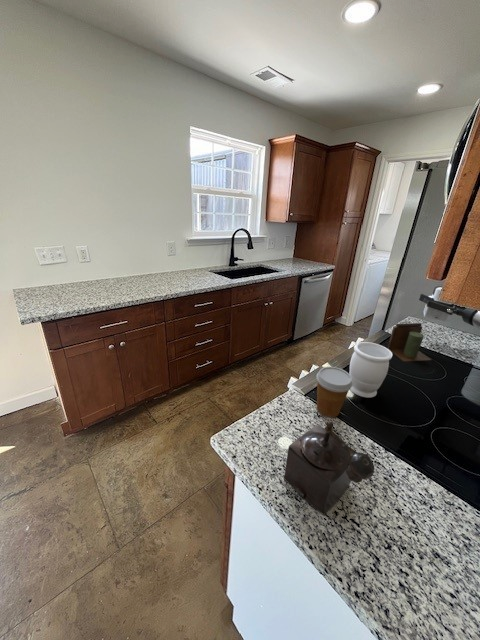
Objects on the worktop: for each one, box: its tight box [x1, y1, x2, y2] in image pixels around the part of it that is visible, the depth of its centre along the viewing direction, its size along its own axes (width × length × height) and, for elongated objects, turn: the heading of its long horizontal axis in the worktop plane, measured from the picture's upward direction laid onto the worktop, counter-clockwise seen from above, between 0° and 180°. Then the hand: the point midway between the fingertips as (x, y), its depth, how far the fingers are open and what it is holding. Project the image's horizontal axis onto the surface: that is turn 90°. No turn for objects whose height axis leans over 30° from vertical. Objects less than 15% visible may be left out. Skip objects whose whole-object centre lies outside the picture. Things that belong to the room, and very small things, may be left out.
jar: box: [349, 341, 393, 399], centre depth 83 cm, size 11×10×15 cm
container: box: [423, 285, 451, 322], centre depth 111 cm, size 8×8×13 cm
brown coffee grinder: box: [283, 420, 375, 515], centre depth 51 cm, size 16×11×18 cm
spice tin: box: [403, 332, 425, 358], centre depth 103 cm, size 5×5×9 cm
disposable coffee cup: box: [316, 366, 353, 418], centre depth 75 cm, size 10×10×12 cm
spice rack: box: [386, 322, 432, 362], centre depth 104 cm, size 12×10×12 cm
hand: (432, 296), depth 114 cm, fingers closed on container, 10 cm apart
